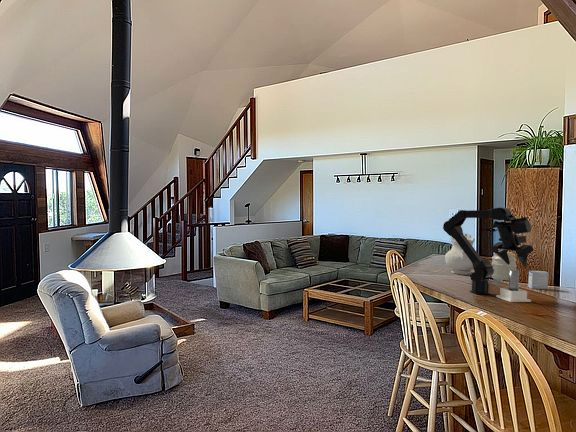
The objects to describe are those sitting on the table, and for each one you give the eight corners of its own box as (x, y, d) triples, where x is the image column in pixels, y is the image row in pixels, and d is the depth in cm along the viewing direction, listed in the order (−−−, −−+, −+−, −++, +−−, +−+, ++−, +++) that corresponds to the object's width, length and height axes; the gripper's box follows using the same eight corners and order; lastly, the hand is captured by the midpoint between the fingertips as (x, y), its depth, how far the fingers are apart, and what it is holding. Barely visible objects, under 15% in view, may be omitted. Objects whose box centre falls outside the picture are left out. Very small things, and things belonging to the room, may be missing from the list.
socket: (510, 301, 190) (510, 291, 190) (495, 296, 200) (496, 287, 200) (531, 301, 192) (531, 291, 192) (515, 296, 202) (516, 287, 201)
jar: (518, 281, 245) (520, 249, 245) (493, 279, 248) (495, 248, 247) (511, 277, 258) (513, 247, 258) (488, 276, 261) (489, 246, 260)
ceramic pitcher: (484, 278, 258) (489, 236, 257) (450, 275, 258) (455, 232, 257) (469, 273, 279) (474, 234, 278) (438, 269, 279) (443, 230, 279)
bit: (511, 298, 194) (513, 271, 193) (505, 296, 198) (507, 269, 197) (520, 298, 194) (521, 271, 194) (514, 296, 198) (515, 269, 198)
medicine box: (543, 288, 227) (544, 271, 227) (548, 289, 223) (549, 272, 223) (527, 287, 228) (528, 270, 228) (531, 288, 224) (532, 271, 223)
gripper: (536, 228, 193) (547, 260, 195) (503, 226, 211) (512, 255, 213) (518, 238, 190) (529, 271, 192) (485, 236, 207) (496, 265, 210)
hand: (516, 265), depth 202 cm, fingers open, 9 cm apart
